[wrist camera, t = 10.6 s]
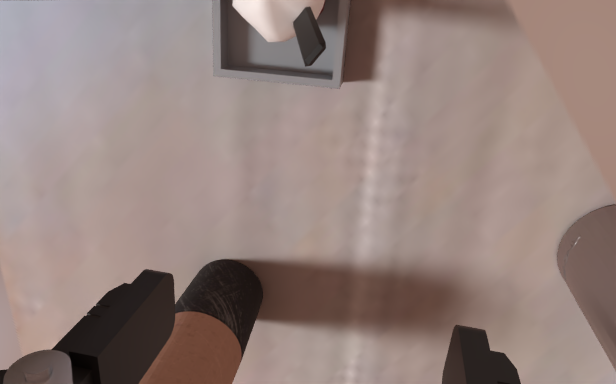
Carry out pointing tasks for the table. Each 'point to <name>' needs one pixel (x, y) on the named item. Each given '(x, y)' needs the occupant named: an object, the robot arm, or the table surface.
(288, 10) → the cocoa
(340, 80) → the tray
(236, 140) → the table surface
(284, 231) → the table surface
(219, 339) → the travel mug
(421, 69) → the table surface
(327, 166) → the table surface
